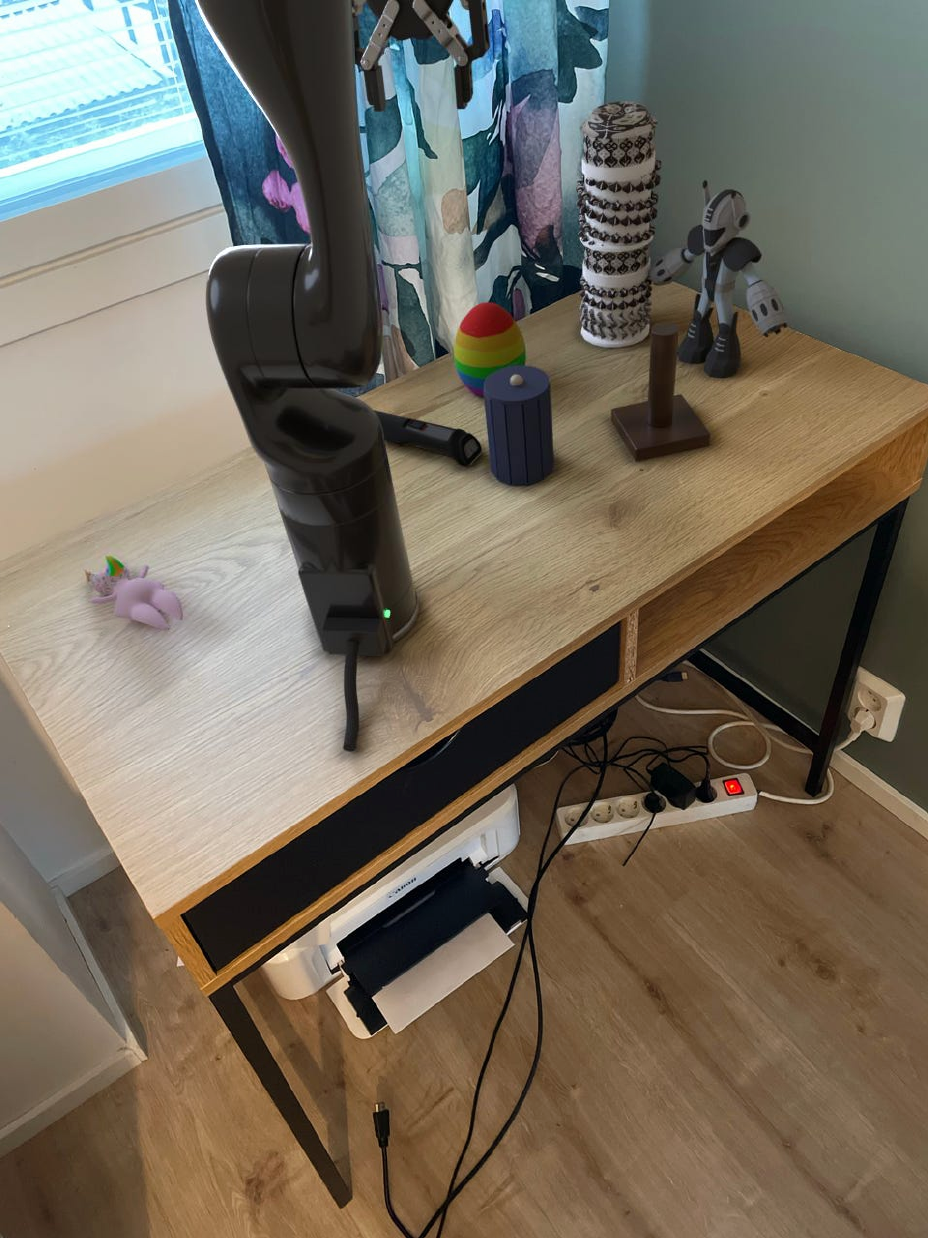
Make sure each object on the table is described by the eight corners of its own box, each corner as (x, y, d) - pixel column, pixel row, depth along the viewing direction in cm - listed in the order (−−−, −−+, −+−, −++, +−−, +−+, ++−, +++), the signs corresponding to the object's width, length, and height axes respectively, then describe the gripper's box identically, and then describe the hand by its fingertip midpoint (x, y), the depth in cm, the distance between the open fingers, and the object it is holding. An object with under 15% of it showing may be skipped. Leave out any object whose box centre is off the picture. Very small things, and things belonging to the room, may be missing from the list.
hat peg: (709, 445, 93) (721, 339, 84) (635, 461, 92) (639, 356, 84) (680, 405, 98) (688, 302, 90) (610, 420, 98) (612, 317, 89)
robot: (789, 386, 99) (822, 199, 85) (757, 402, 97) (786, 215, 83) (666, 323, 111) (677, 151, 97) (636, 337, 109) (642, 165, 95)
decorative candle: (667, 335, 109) (682, 109, 91) (599, 356, 107) (600, 130, 89) (630, 305, 115) (637, 88, 97) (565, 324, 113) (560, 107, 96)
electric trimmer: (369, 420, 103) (364, 396, 101) (484, 450, 96) (481, 425, 94) (350, 438, 101) (344, 414, 99) (466, 470, 94) (462, 445, 92)
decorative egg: (535, 395, 103) (531, 313, 96) (466, 410, 102) (457, 329, 95) (516, 360, 109) (511, 281, 101) (451, 374, 108) (441, 295, 101)
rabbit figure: (81, 604, 88) (153, 659, 78) (51, 556, 84) (121, 606, 74) (136, 570, 91) (211, 618, 81) (109, 521, 87) (184, 566, 77)
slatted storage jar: (551, 485, 91) (547, 393, 83) (488, 485, 92) (478, 394, 84) (555, 448, 95) (551, 357, 88) (495, 449, 96) (487, 358, 89)
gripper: (312, -85, 78) (343, 121, 89) (472, -98, 75) (484, 117, 86) (337, -95, 83) (364, 101, 94) (488, -107, 81) (497, 96, 92)
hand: (421, 108), depth 90 cm, fingers open, 8 cm apart
